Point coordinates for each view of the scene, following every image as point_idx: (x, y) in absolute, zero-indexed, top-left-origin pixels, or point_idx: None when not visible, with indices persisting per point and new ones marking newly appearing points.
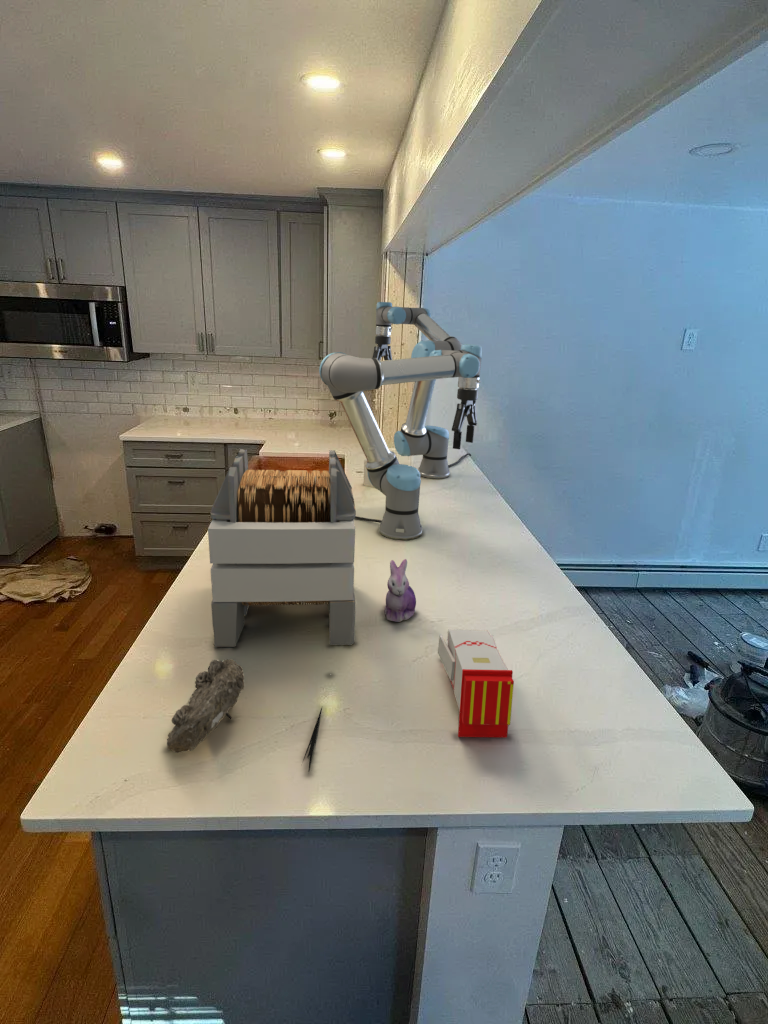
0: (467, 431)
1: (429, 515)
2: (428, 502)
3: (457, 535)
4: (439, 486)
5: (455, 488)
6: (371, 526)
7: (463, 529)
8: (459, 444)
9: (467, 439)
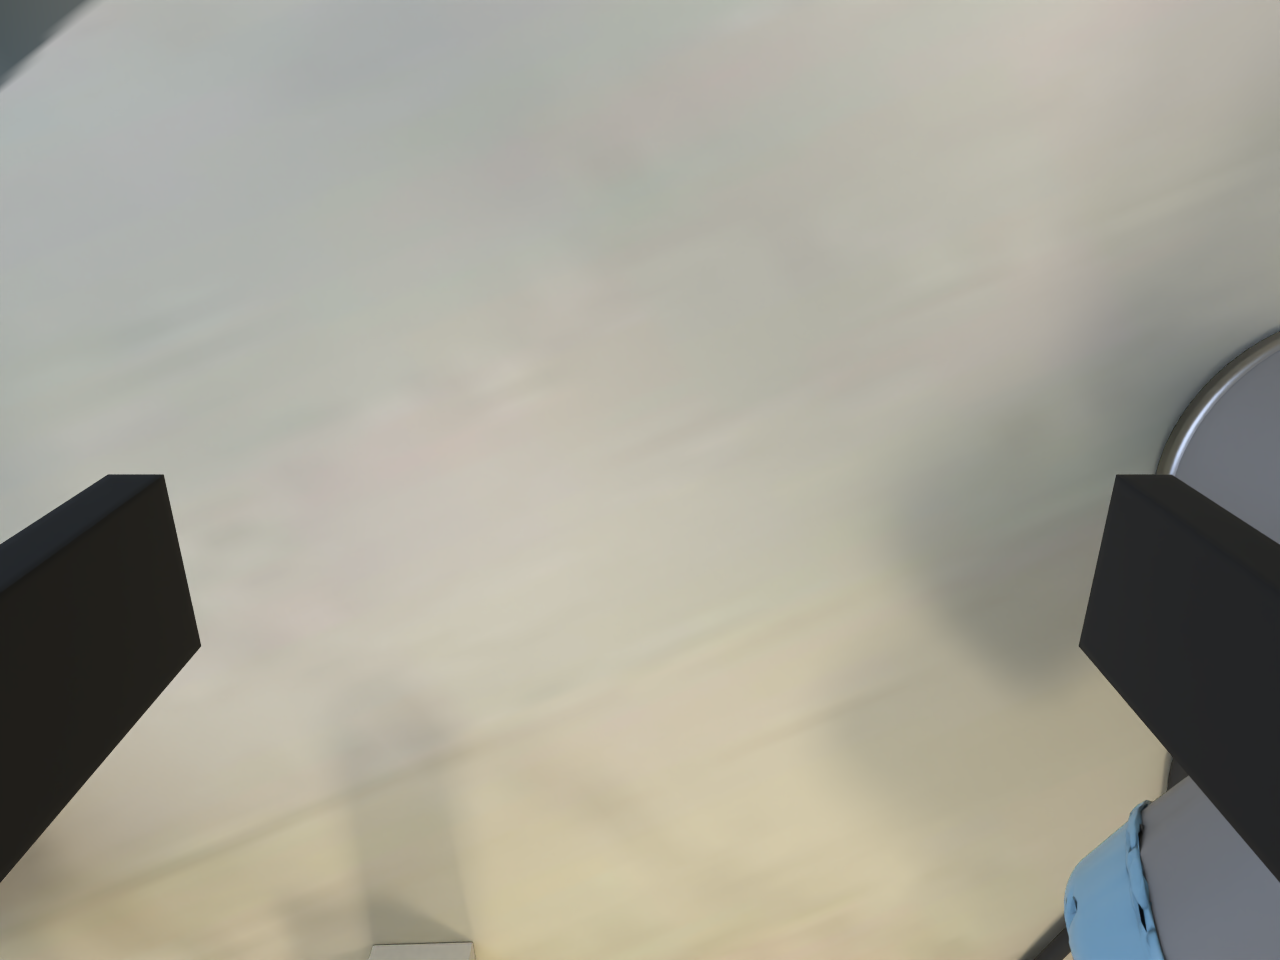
0: (4, 838)
1: (843, 441)
2: (542, 570)
3: (1219, 37)
4: None
5: None
6: None
7: (1044, 45)
8: (1257, 547)
9: (157, 644)
